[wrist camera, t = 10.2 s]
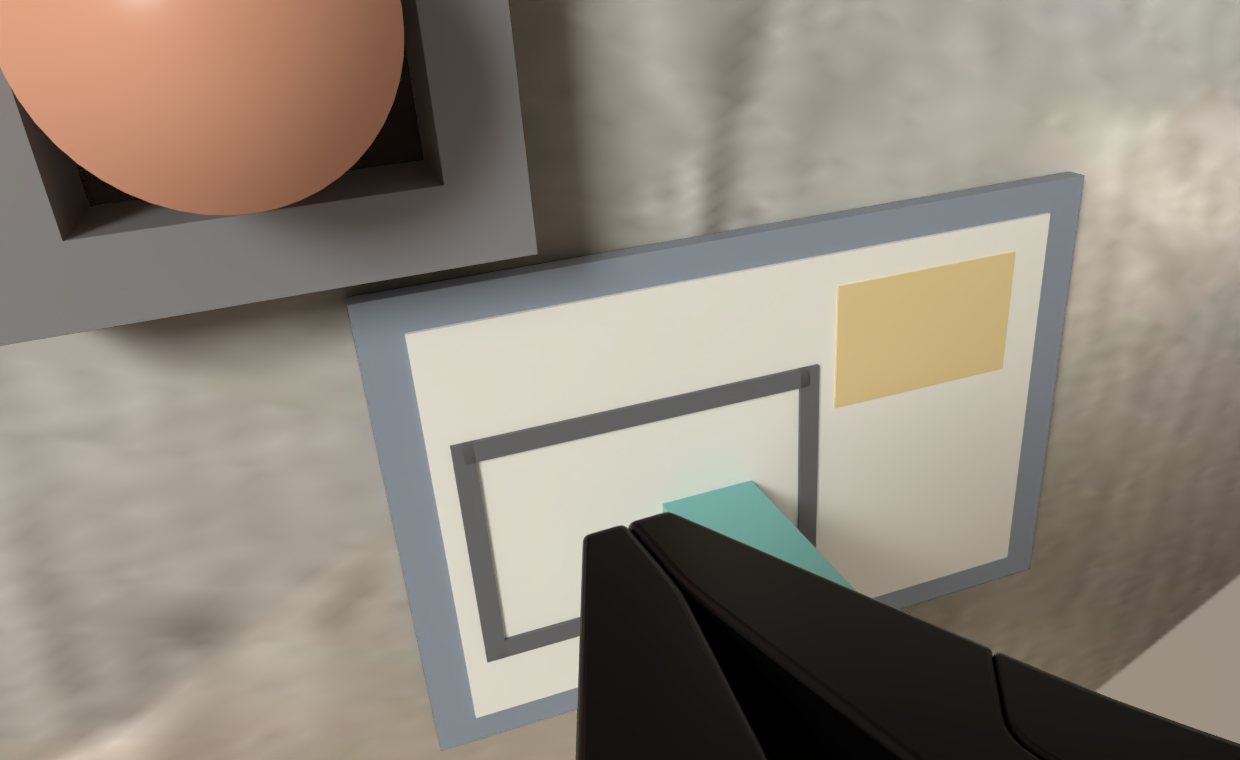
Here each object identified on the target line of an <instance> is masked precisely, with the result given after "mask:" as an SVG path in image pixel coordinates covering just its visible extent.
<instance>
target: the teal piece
mask: <svg viewBox="0 0 1240 760" xmlns="http://www.w3.org/2000/svg"><path fill="white" fill-rule="evenodd" d="M662 507H663V512H671V513H674V514H677V515H679V516H682V517H684V518H686V519H689V520H691V521H693V522H696V523H698V524H700V525H703V526H705V527H707V528H710V529H712V530H714V531H717V532H719V533H721V534H724V535H726V536H728V537H731V538H733V539H735V540H738V541H740V542H742V543H745V544H747V545H749V546H752V547H754V548H756V549H759V550H761V551H763V552H766V553H768V554H771V555H773V556H775V557H778V558H780V559H782V560H785V561H787V562H789V563H792V564H794V565H796V566H799V567H801V568H803V569H806V570H808V571H810V572H813V573H815V574H817V575H820V576H822V577H824V578H827V579H829V580H831V581H834V582H836V583H838V584H841V585H843V586H845V587H848V588H850V589H852V590H855V589H854V588H853V587H852V586H851V585H850V584H849V583H848V582H847V581H846V580H845V578H844V577H843V576H842V575H841V574H840V573H839V572H838V571H837V570H836V569H835V568H834V567H833V566H832V565H831V564H830V563H829V562H828V561H827V559H826V558H825V557H824V556H823V555H822V554H821V553H820V552H819V551H818V550H817V549H816V548H815V547H814V546H813V545H812V544H811V543H810V542H809V540H808V539H807V538H806V537H805V536H804V535H803V534H802V533H801V532H800V531H799V530H798V529H797V528H796V527H795V526H794V525H793V524H792V523H791V521H790V520H789V519H788V518H787V517H786V516H785V515H784V514H783V513H782V512H781V511H780V510H779V509H778V508H777V507H776V506H775V505H774V504H773V502H772V501H771V500H770V499H769V498H768V497H767V496H766V495H765V494H764V493H763V492H762V491H761V490H760V489H759V488H758V487H757V486H756V485H755V483H754V482H753V481H752V480H751V481H747V482H743V483H739V484H735V485H732V486H728V487H724V488H720V489H716V490H713V491H709V492H705V493H701V494H697V495H694V496H690V497H686V498H682V499H678V500H674V501H671V502H667V503H663V504H662ZM855 591H856V590H855Z"/></svg>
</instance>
